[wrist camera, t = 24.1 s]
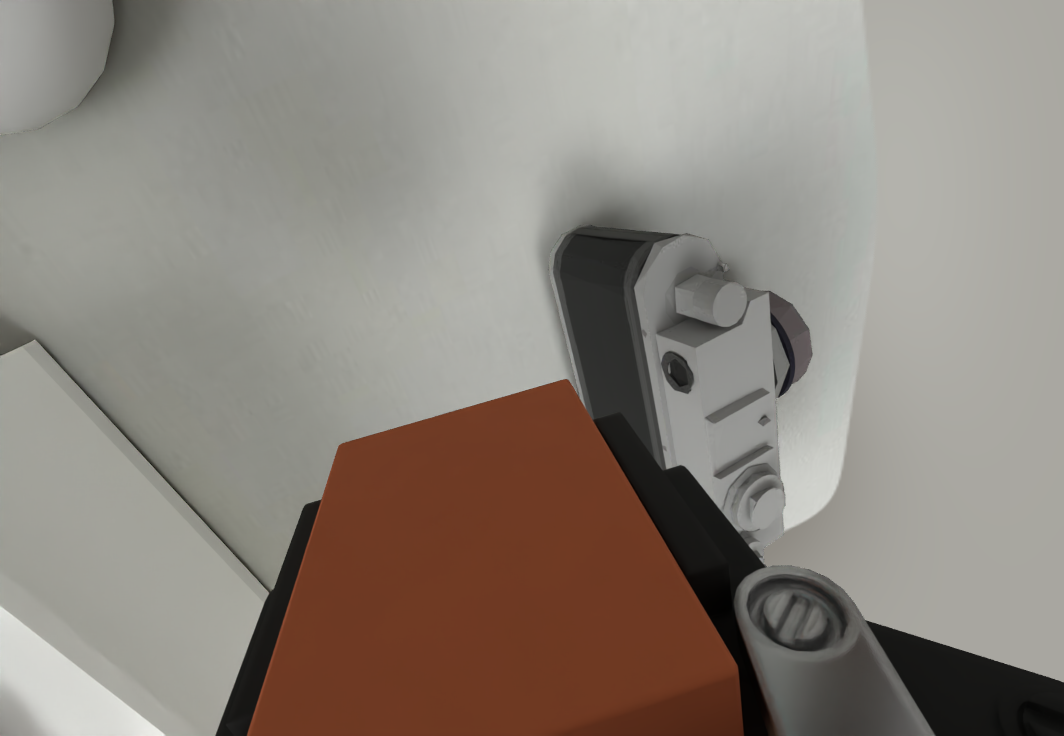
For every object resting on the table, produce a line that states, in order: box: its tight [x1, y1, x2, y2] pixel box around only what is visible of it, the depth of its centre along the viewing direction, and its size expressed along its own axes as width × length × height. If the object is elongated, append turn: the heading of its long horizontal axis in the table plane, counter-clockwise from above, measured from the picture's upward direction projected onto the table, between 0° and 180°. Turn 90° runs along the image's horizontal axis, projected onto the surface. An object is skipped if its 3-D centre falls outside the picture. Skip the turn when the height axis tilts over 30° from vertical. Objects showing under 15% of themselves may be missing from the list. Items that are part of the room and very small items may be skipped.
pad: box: [247, 379, 744, 736], centre depth 8 cm, size 4×4×6 cm
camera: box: [548, 225, 812, 567], centre depth 22 cm, size 16×9×10 cm, turn 15°
